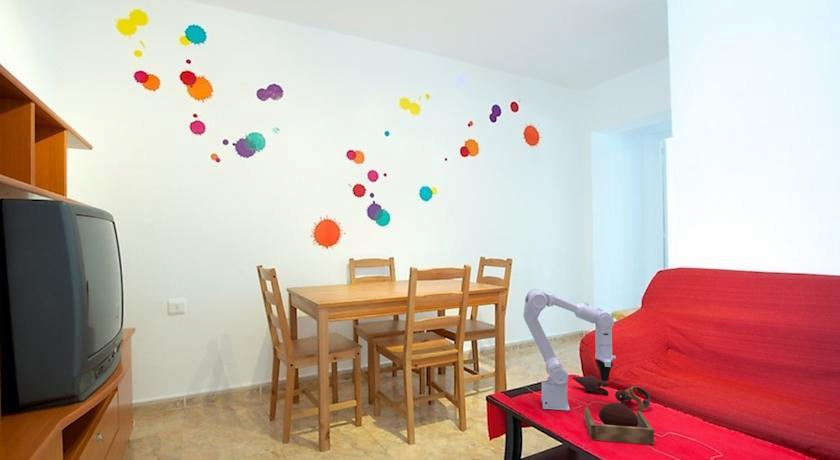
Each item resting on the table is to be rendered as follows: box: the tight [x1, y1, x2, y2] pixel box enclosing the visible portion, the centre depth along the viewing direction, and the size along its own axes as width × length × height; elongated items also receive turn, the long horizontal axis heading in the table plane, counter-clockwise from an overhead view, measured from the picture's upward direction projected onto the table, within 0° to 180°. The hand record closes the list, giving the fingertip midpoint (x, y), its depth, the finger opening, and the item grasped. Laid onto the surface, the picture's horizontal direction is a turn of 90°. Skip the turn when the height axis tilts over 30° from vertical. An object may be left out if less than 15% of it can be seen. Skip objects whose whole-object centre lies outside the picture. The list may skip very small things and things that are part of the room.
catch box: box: [583, 407, 655, 446], centre depth 140 cm, size 18×14×4 cm
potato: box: [598, 401, 639, 427], centre depth 141 cm, size 9×12×9 cm
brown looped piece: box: [614, 385, 651, 412], centre depth 160 cm, size 12×10×8 cm
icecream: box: [571, 374, 609, 396], centre depth 176 cm, size 7×7×15 cm
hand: (604, 380), depth 160 cm, fingers closed
